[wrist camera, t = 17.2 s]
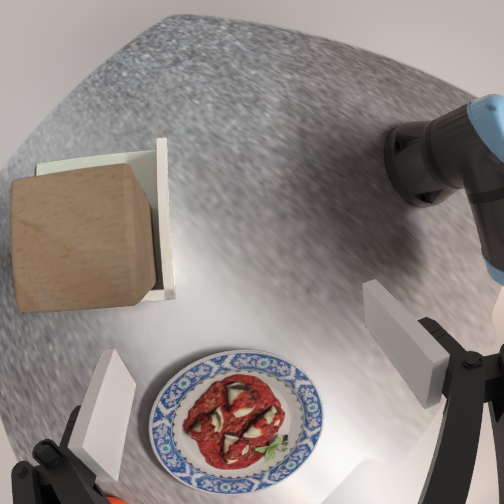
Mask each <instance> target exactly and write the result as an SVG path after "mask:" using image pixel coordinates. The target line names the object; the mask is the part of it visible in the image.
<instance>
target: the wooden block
mask: <svg viewBox="0 0 504 504" xmlns="http://www.w3.org/2000/svg"><path fill="white" fill-rule="evenodd" d="M10 236H11V255H12V268H13V279H14V288H15V296H16V303H17V308H18V311H20V312H22V313H39V312H55V311H71V310H85V309H98V308H111V307H123V306H134V305H136V304H138V303H140V301H141V300H142V299H143V298H144V297H145V296H146V294H147V293H148V292H149V291H150V290H151V289H152V288H153V287H154V285H155V284H156V283H157V281H158V276H157V267H156V256H155V245H154V233H153V219H152V208H151V206H150V204H149V202H148V200H147V198H146V196H145V195H144V193H143V191H142V189H141V187H140V185H139V183H138V181H137V179H136V177H135V175H134V173H133V171H132V169H131V167H130V165H129V164H126V163H120V164H111V165H103V166H96V167H88V168H81V169H75V170H68V171H62V172H56V173H50V174H44V175H39V176H33V177H28V178H23V179H18V180H15V181H13V182H12V183H11V186H10Z"/></svg>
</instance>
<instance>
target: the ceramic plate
mask: <svg viewBox="0 0 504 504" xmlns="http://www.w3.org/2000/svg"><path fill="white" fill-rule="evenodd" d="M323 421H324V410H323V403H322V399H321V396H320V393H319V391H318V389H317V387H316V385H315V383H314V382H313V381H312V379H311V378H310V377H309V376H308V375H307V374H306V372H305V371H303V370H302V369H301V368H300V367H299V366H297V365H296V364H295V363H293V362H291V361H289V360H287V359H285V358H283V357H281V356H278V355H275V354H272V353H268V352H264V351H257V350H231V351H224V352H220V353H216V354H213V355H210V356H207V357H204V358H201V359H199V360H197V361H195V362H193V363H191V364H189V365H188V366H186V367H185V368H183V369H182V370H180V371H179V372H178V373H177V374H175V375H174V376H173V377H172V378H171V379H170V380H169V381H168V382H167V383H166V385H165V386H164V387H163V388H162V390H161V391H160V393H159V394H158V396H157V398H156V400H155V402H154V404H153V407H152V410H151V414H150V418H149V437H150V442H151V446H152V448H153V451H154V453H155V455H156V457H157V459H158V460H159V462H160V463H161V465H162V466H163V467H164V468H165V469H166V470H167V472H169V473H170V474H171V475H172V476H173V477H174V478H176V479H177V480H178V481H180V482H182V483H183V484H185V485H187V486H189V487H191V488H194V489H196V490H199V491H202V492H206V493H210V494H217V495H230V496H232V495H243V494H249V493H254V492H258V491H261V490H264V489H267V488H269V487H271V486H274V485H276V484H278V483H280V482H281V481H283V480H285V479H286V478H288V477H289V476H291V475H292V474H293V473H295V472H296V471H297V470H298V469H299V468H300V467H301V466H302V465H303V464H304V463H305V462H306V460H307V459H308V458H309V457H310V455H311V454H312V452H313V451H314V449H315V447H316V445H317V443H318V441H319V438H320V435H321V432H322V428H323Z"/></svg>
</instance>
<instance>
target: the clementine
mask: <svg viewBox="0 0 504 504" xmlns="http://www.w3.org/2000/svg"><path fill="white" fill-rule="evenodd" d="M107 499H108V500H109V501H110V503H111V504H127V503H126V502H124V501H123V500H121V499H119V498H115V497H107Z"/></svg>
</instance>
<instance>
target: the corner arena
mask: <svg viewBox="0 0 504 504" xmlns="http://www.w3.org/2000/svg"><path fill="white" fill-rule="evenodd" d="M120 163H126V164H129V165H130V167H131V169H132V171H133V173H134V175H135V177H136V179H137V181H138V183H139V185H140V187H141V189H142V191H143V193H144V195H145V196H146V198H147V200H148V202H149V204H150V206H151V208H152V219H153V233H154V245H155V256H156V267H157V276H158V281H157V283H156V284H155V285H154V287H153V288H152V289H151V290H150V291H149V292H148V293H147V294H146V296H145V297H144V298H143V299H142V300H141V301H140V302H146V301H160V300H172V299H175V296H176V293H175V282H174V270H173V258H172V244H171V229H170V210H169V187H168V150H167V138H157V150H149V151H137V152H125V153H115V154H106V155H97V156H89V157H81V158H74V159H66V160H60V161H53V162H47V163H41V164H37V171H36V176H39V175H44V174H50V173H56V172H62V171H68V170H75V169H81V168H88V167H96V166H103V165H111V164H120Z"/></svg>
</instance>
